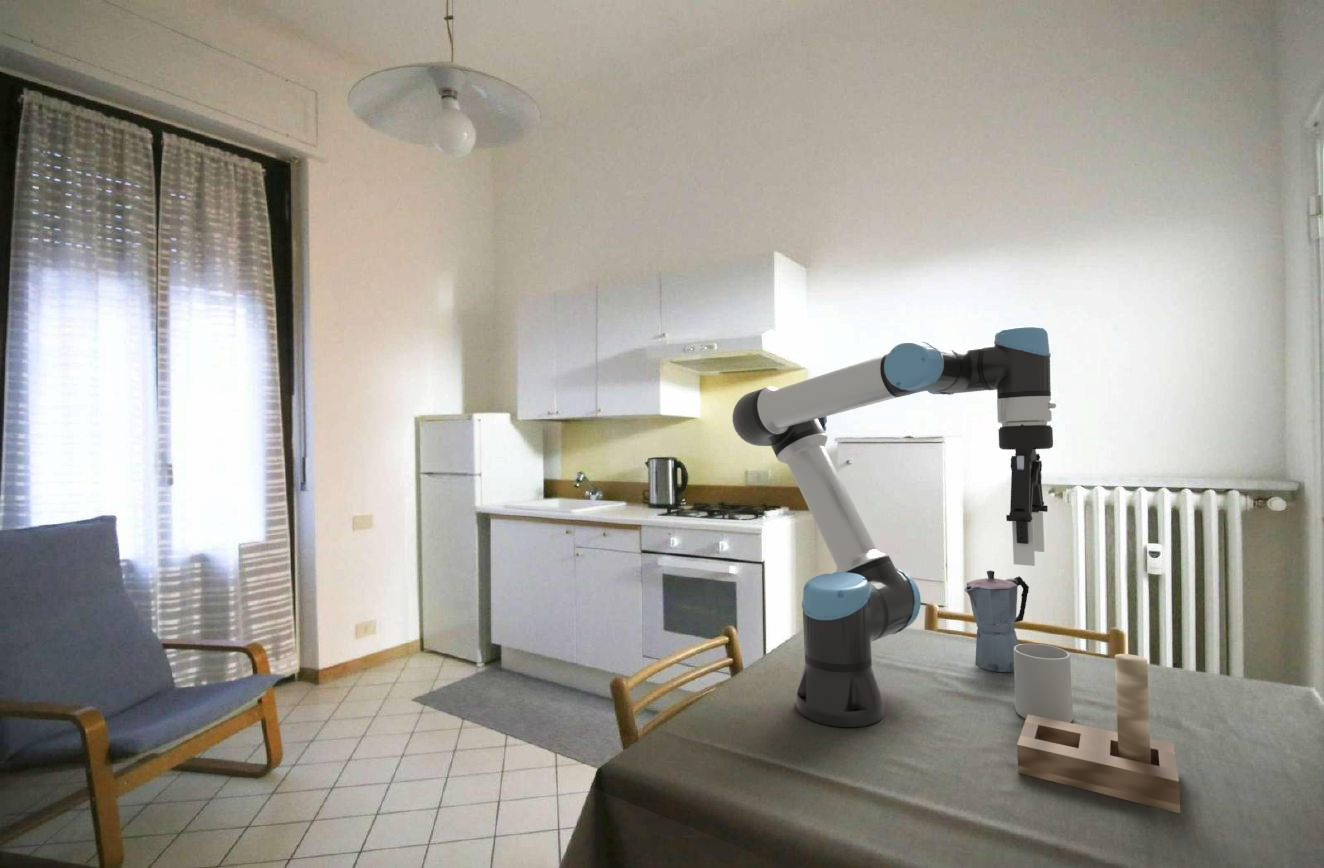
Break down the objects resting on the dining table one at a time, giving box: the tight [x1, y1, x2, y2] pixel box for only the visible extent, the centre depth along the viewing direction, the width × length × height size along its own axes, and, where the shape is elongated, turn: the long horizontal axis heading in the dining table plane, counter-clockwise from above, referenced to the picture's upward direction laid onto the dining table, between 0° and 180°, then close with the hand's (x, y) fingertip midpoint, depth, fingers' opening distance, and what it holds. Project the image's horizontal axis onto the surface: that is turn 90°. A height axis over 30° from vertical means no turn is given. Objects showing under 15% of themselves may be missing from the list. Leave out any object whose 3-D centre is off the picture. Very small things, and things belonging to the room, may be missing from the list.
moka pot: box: [964, 570, 1030, 673], centre depth 133 cm, size 10×15×20 cm, turn 107°
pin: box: [1114, 653, 1151, 764], centre depth 87 cm, size 4×4×16 cm
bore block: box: [1016, 714, 1181, 814], centre depth 90 cm, size 18×12×4 cm, turn 54°
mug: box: [1013, 643, 1074, 723], centre depth 111 cm, size 12×8×11 cm
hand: (1029, 557), depth 101 cm, fingers open, 13 cm apart
